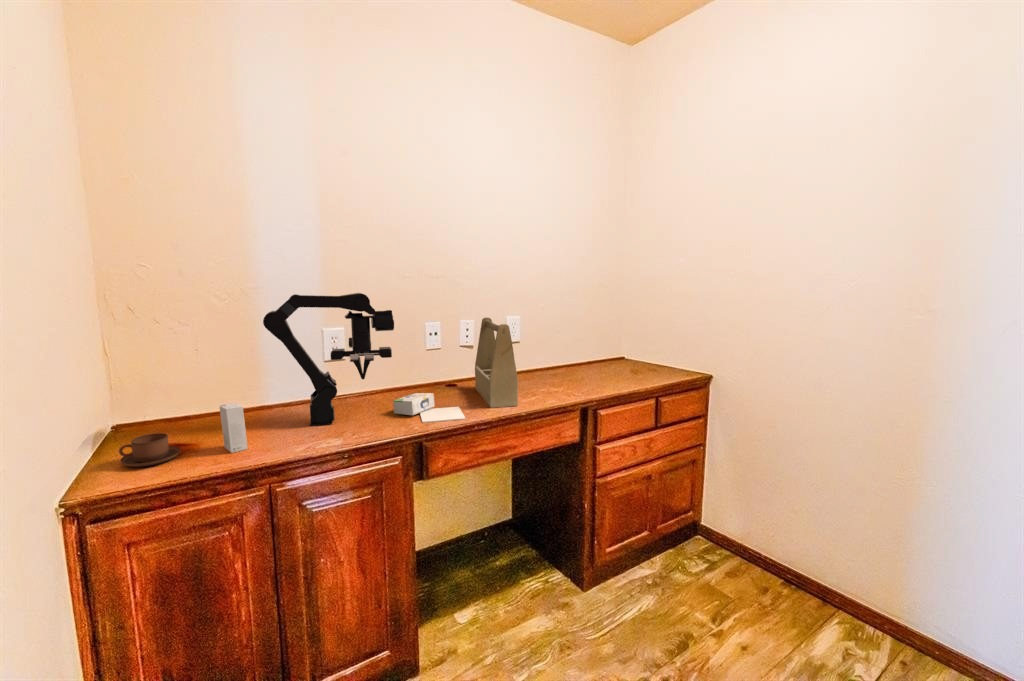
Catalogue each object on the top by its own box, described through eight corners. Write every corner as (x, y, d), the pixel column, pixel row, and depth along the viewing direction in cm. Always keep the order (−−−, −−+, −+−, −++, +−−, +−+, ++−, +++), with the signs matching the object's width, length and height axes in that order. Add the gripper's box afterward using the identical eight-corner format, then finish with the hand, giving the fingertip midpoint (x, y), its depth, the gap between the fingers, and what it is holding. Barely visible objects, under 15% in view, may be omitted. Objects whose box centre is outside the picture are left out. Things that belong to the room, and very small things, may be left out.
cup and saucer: (127, 475, 109) (124, 450, 109) (116, 462, 117) (114, 438, 116) (187, 460, 118) (184, 437, 118) (173, 449, 126) (171, 427, 125)
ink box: (412, 415, 153) (435, 407, 164) (411, 400, 153) (434, 393, 163) (393, 414, 158) (416, 406, 168) (392, 399, 157) (415, 392, 167)
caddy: (474, 389, 193) (473, 317, 189) (499, 387, 196) (499, 316, 191) (489, 408, 165) (489, 324, 161) (518, 406, 168) (519, 323, 163)
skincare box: (248, 449, 126) (244, 406, 124) (229, 454, 122) (226, 409, 121) (240, 443, 130) (237, 401, 128) (222, 448, 126) (218, 405, 125)
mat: (422, 422, 148) (422, 421, 148) (418, 410, 162) (418, 409, 162) (465, 419, 152) (465, 418, 152) (458, 407, 165) (458, 406, 165)
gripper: (390, 328, 160) (391, 372, 162) (332, 330, 155) (335, 375, 157) (390, 332, 149) (392, 379, 152) (329, 334, 144) (331, 382, 147)
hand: (363, 379), depth 152 cm, fingers closed
